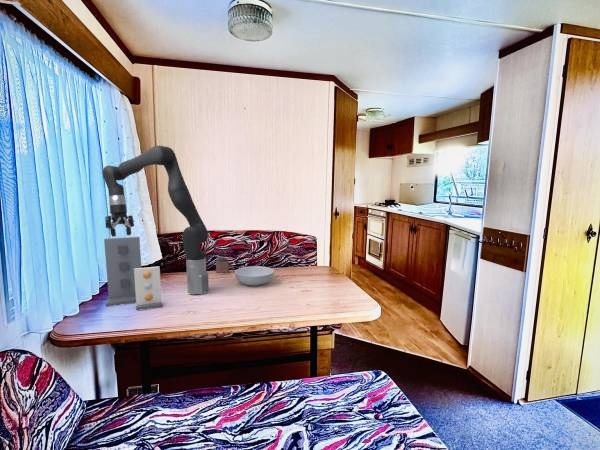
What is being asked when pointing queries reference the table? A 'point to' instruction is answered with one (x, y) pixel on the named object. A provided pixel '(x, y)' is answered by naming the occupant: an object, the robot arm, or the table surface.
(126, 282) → the button bottom
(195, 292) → the robot arm
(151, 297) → the pattern card
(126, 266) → the button middle
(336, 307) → the table surface
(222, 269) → the lighter
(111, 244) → the button panel
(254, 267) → the serving bowl
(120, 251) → the button top
